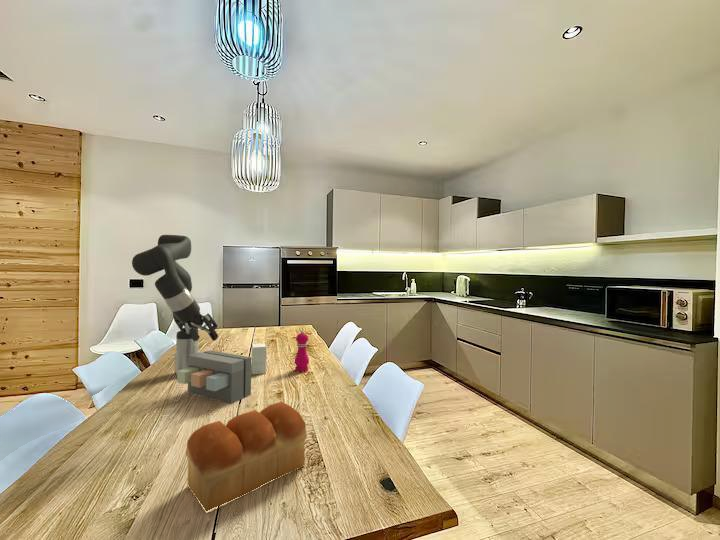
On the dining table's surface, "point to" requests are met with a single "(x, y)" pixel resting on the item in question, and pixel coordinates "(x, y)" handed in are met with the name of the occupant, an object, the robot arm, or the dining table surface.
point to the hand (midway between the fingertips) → (206, 339)
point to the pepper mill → (301, 352)
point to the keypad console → (229, 364)
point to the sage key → (186, 374)
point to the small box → (258, 359)
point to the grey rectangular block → (217, 381)
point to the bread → (244, 453)
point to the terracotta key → (200, 377)
